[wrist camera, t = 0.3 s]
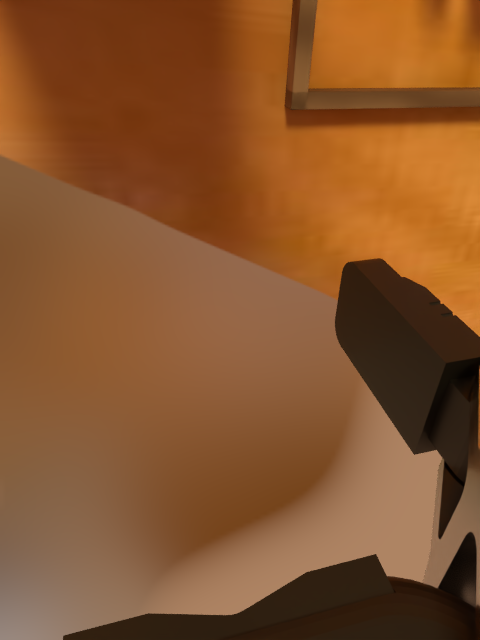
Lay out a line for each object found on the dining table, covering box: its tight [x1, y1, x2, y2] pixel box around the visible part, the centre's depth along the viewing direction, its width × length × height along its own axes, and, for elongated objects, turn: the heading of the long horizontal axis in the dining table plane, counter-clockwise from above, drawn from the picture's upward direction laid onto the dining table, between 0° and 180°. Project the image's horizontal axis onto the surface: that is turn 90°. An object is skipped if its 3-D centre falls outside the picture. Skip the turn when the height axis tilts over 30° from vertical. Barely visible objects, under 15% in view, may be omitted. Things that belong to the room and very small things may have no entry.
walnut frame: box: [285, 0, 480, 110], centre depth 35 cm, size 12×30×2 cm, turn 88°
